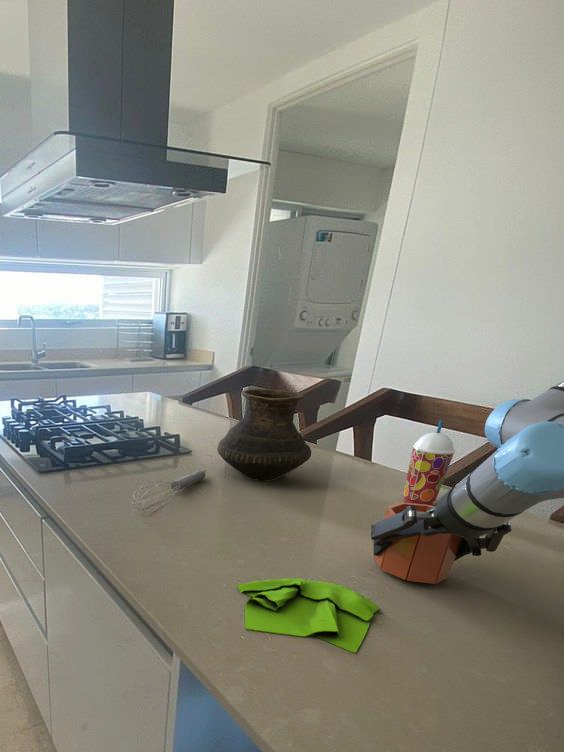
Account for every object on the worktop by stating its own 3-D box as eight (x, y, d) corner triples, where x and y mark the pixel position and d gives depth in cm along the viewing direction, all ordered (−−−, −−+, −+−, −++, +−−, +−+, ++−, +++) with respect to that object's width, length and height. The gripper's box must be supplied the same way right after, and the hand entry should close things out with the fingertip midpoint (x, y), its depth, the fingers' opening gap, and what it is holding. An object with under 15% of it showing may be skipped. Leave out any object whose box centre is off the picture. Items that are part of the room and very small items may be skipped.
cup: (381, 500, 88) (400, 525, 79) (448, 506, 86) (476, 532, 76) (369, 549, 92) (385, 578, 83) (432, 555, 90) (457, 586, 80)
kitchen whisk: (214, 479, 131) (217, 456, 128) (149, 521, 106) (150, 494, 103) (194, 474, 134) (196, 452, 132) (126, 514, 109) (126, 488, 106)
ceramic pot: (315, 472, 138) (331, 391, 128) (291, 498, 119) (308, 406, 110) (233, 457, 150) (242, 383, 141) (200, 478, 131) (208, 394, 122)
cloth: (394, 608, 76) (398, 595, 75) (335, 675, 62) (339, 661, 61) (275, 562, 89) (277, 550, 88) (205, 608, 75) (206, 595, 74)
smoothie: (406, 493, 123) (428, 415, 115) (442, 503, 117) (469, 421, 109) (392, 501, 118) (414, 419, 110) (429, 512, 112) (456, 426, 104)
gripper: (573, 486, 65) (482, 539, 86) (386, 471, 70) (341, 525, 90) (583, 538, 63) (486, 580, 83) (387, 520, 67) (341, 564, 87)
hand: (411, 552), depth 87 cm, fingers closed on cup, 11 cm apart
